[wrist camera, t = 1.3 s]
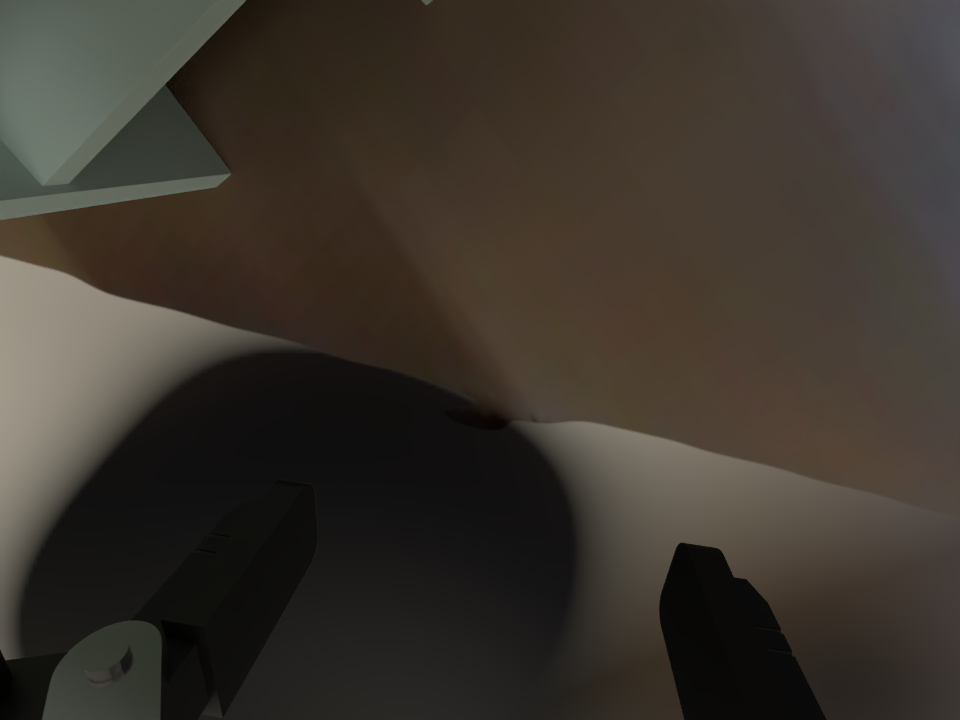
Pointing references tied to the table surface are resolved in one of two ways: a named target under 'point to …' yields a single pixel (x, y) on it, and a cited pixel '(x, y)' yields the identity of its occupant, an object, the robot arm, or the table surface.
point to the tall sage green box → (100, 102)
